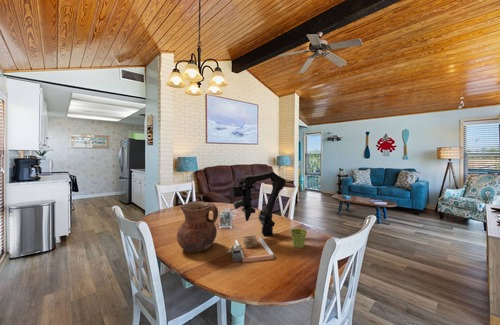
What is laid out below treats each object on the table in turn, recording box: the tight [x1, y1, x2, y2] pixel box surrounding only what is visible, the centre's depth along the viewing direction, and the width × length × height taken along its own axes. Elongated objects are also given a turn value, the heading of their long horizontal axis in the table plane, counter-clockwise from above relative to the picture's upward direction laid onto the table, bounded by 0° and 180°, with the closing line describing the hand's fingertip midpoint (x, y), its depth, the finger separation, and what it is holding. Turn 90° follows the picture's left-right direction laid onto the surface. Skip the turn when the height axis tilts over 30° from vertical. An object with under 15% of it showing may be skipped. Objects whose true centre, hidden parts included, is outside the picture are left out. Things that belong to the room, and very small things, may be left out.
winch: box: [227, 244, 243, 262], centre depth 108 cm, size 7×6×7 cm
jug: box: [176, 200, 219, 254], centre depth 122 cm, size 22×21×25 cm
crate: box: [242, 235, 258, 249], centre depth 126 cm, size 7×6×4 cm
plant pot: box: [290, 228, 308, 249], centre depth 125 cm, size 9×9×9 cm
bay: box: [234, 237, 275, 263], centre depth 119 cm, size 16×23×2 cm
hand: (246, 220), depth 134 cm, fingers closed
